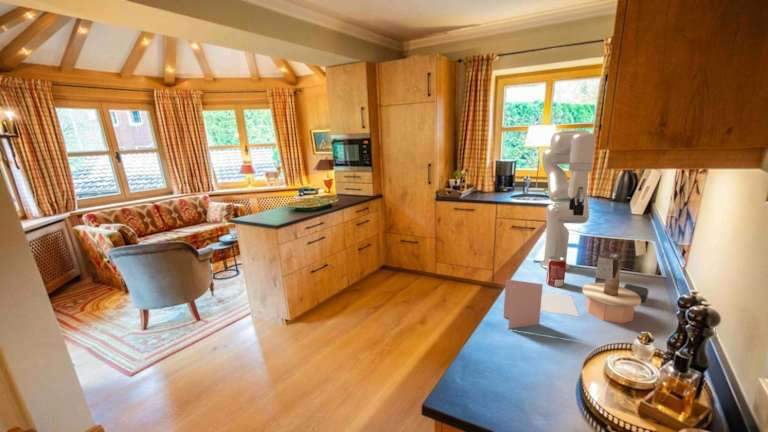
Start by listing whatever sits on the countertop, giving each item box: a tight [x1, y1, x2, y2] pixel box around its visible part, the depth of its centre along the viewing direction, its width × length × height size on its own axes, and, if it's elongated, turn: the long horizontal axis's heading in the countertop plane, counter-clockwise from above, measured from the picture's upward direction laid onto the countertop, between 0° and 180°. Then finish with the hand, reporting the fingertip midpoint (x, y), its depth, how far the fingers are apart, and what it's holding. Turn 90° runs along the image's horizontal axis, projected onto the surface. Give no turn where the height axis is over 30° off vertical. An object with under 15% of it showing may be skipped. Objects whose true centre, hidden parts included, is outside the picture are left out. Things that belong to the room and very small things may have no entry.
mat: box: [540, 291, 580, 317], centre depth 125 cm, size 16×16×1 cm
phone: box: [623, 283, 648, 303], centre depth 131 cm, size 7×1×15 cm
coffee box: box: [594, 250, 623, 283], centre depth 130 cm, size 9×6×16 cm
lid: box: [581, 278, 642, 308], centre depth 115 cm, size 17×17×6 cm
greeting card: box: [503, 279, 544, 331], centre depth 109 cm, size 11×7×15 cm, turn 66°
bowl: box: [585, 297, 635, 324], centre depth 116 cm, size 13×13×7 cm
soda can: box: [545, 256, 567, 288], centre depth 139 cm, size 7×7×12 cm
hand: (575, 212), depth 126 cm, fingers open, 9 cm apart
